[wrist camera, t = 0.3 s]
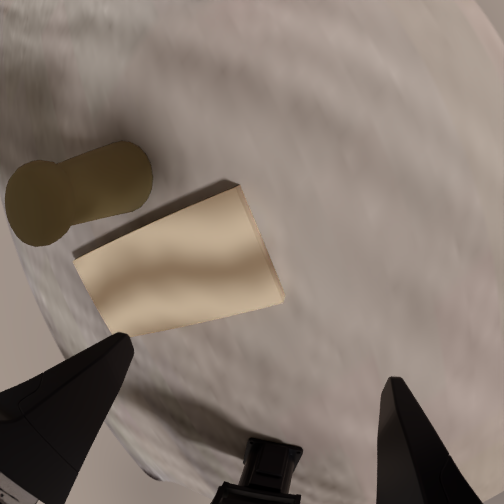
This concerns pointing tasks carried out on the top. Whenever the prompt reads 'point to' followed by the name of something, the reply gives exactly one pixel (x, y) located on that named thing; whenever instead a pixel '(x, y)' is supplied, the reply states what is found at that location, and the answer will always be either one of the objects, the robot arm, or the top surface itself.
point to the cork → (76, 191)
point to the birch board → (183, 269)
